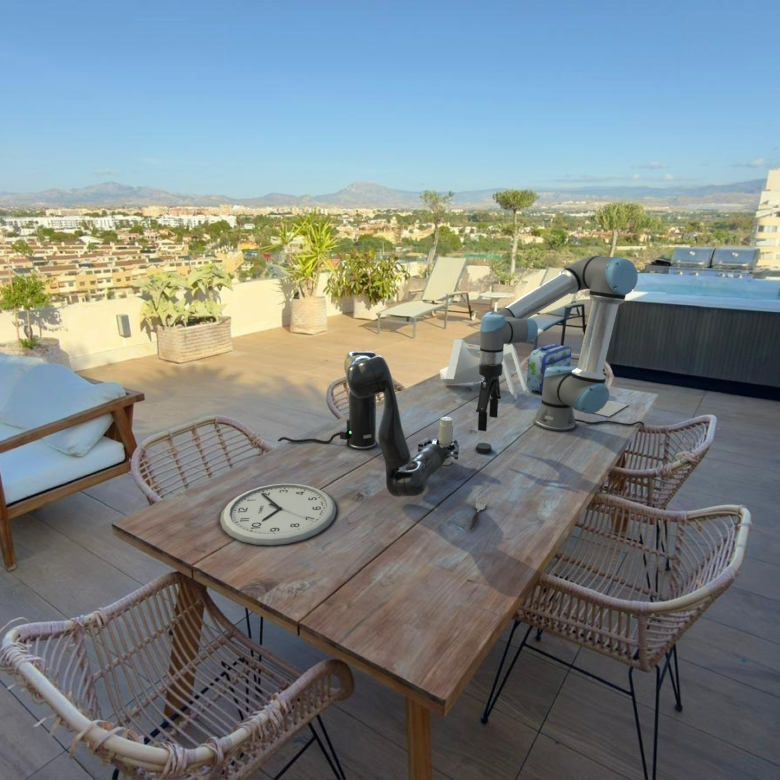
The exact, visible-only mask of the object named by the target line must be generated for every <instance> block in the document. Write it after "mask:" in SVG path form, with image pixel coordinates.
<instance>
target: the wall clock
mask: <svg viewBox="0 0 780 780" xmlns="http://www.w3.org/2000/svg"><path fill="white" fill-rule="evenodd" d="M336 513H337V507H336V502H335V501H334V500H333V498H332V497H331V496H330V495H329V494H327V493H326V492H324V490H321V489H319V488H316V487H313V486H310V485H305V484H299V483H276V484H268V485H264V486H259V487H256V488H252V489H250V490H248V491H245V492H243V493H242V494H239V495H238V496H236V497H235V498H234V499H232V500H231V501H230V502H229V503H227V504H226V506H225V507H224V508H223V510H222V511H221V513H220V518H219V522H220V526H221V528H222V530H223V531H224V532H225V533H226V534H227V535H228V536H229V537H231V538H233V539H235V540H237V541H239V542H242V543H246V544H250V545H256V546H278V545H287V544H294V543H296V542H301V541H304V540H308V539H309V538H311V537H313V536H316V535H318V534H320V533H321V532H323V531H324V530H325V529H327V528H328V527H329V526H330V525H331V523H332V522H333V521H334V520H335V517H336Z"/></svg>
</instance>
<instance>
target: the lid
mask: <svg viewBox="0 0 780 780" xmlns="http://www.w3.org/2000/svg"><path fill="white" fill-rule="evenodd" d="M492 450H493V448H492V445H491V443H488V442H478V443H477V444H476V446H475V451H476V452H477V453H478V454H481V455H489V454H491V453H492Z"/></svg>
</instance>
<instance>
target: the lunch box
mask: <svg viewBox="0 0 780 780" xmlns="http://www.w3.org/2000/svg"><path fill="white" fill-rule="evenodd" d="M571 361H572V348H571V347H570V346H567V345H566V346H565V345H561V344H556V343H555V344H554V343H553V344H548V345H545V346H541V347H539V348H536V349H534V350H532V351H531V353H530V355H529V357H528V363H527V375H526V384H527V387H528V390H529V391H532V392H533V391H534V392H539V393H540V394H542V391H543V380H544V374H545V370H546V369H547V368H549V367H556V366H565V367H571Z"/></svg>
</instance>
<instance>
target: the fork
mask: <svg viewBox="0 0 780 780" xmlns="http://www.w3.org/2000/svg"><path fill="white" fill-rule="evenodd" d="M487 498H488V496H485V497H483V499H482V495H481V496H480V495H478V497H477V500H476V504H475V509H476V512H475V514H474V515H473V517H472V521H471V526H470V530H473V528H474V526H475V524H476V523H477V521H478V519H479V514H480V511H484V510H485V509H486V505H487Z"/></svg>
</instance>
